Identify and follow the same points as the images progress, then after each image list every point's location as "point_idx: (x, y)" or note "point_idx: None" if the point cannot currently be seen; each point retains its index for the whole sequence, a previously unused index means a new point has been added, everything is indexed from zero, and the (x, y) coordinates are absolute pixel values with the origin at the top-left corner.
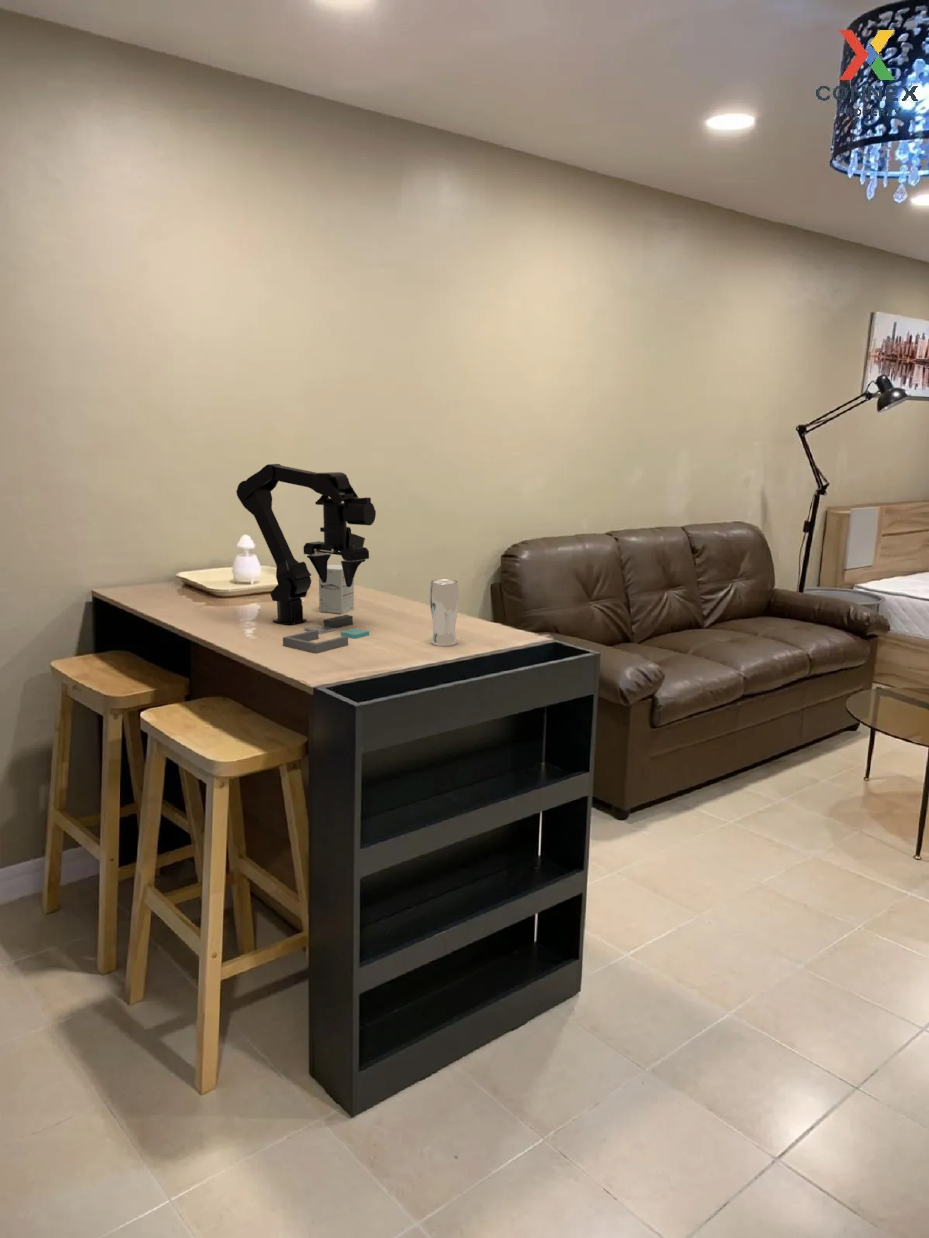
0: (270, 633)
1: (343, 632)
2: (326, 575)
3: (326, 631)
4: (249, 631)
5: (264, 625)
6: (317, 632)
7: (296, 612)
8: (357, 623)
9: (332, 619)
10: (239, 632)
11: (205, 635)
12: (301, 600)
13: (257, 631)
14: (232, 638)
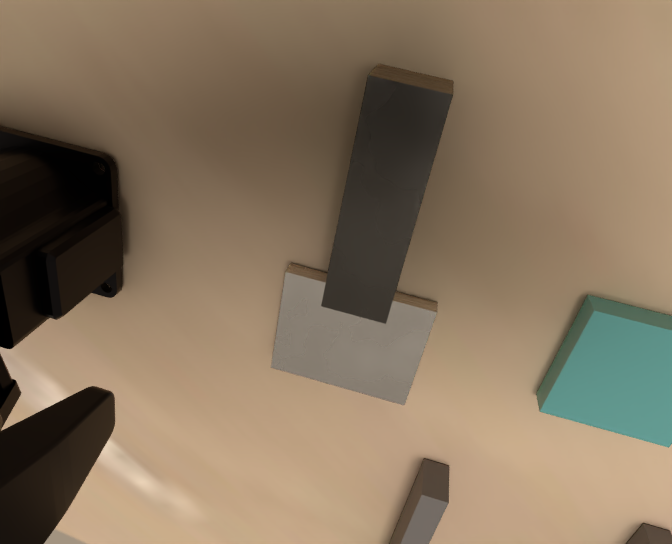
0: (182, 439)
1: (565, 418)
2: (44, 464)
3: (417, 367)
4: None
5: None
6: (447, 499)
7: (87, 291)
8: (471, 21)
9: (372, 280)
10: None
11: None
12: (7, 268)
13: None
14: (135, 525)
